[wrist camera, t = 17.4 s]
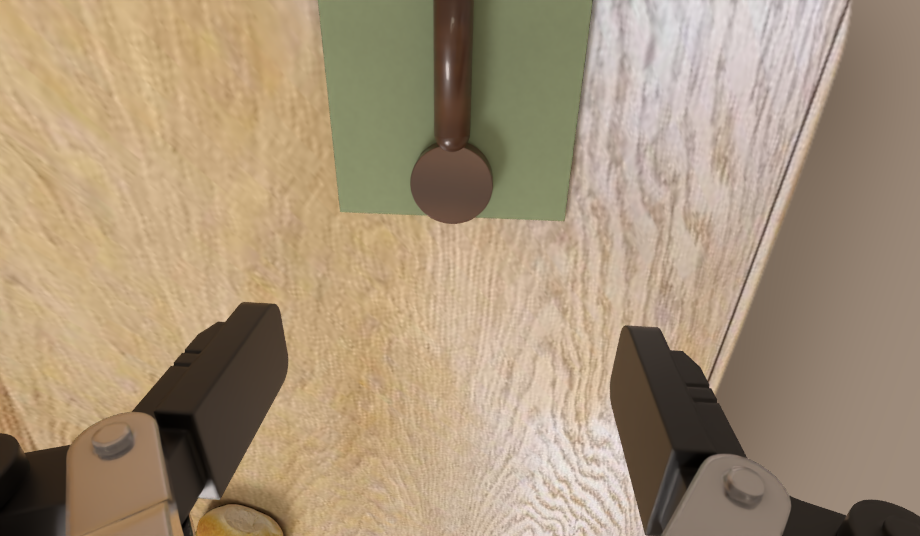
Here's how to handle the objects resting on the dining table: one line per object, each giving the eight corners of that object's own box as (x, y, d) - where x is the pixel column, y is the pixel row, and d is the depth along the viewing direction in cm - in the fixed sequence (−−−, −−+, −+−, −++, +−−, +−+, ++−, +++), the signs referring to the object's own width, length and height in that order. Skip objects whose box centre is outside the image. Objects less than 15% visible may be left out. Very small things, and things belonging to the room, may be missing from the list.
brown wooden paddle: (404, -137, 23) (396, -147, 22) (509, -136, 23) (510, -145, 21) (414, 214, 32) (409, 227, 30) (490, 217, 32) (490, 231, 30)
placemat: (304, -152, 24) (301, -154, 23) (610, -149, 23) (612, -151, 23) (341, 209, 33) (339, 212, 32) (563, 218, 32) (564, 221, 32)
